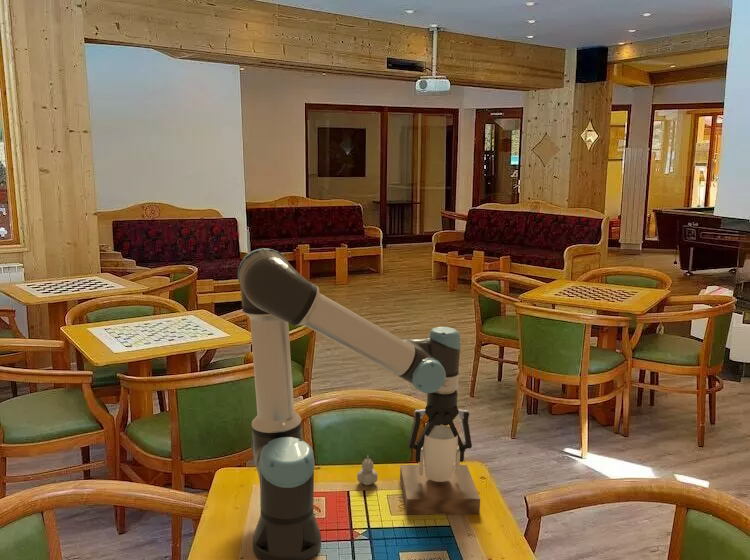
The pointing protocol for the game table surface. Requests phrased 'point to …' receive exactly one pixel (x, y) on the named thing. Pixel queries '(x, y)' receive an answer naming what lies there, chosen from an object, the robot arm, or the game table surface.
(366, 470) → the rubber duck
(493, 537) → the game table surface
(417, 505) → the walnut base
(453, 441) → the cup
